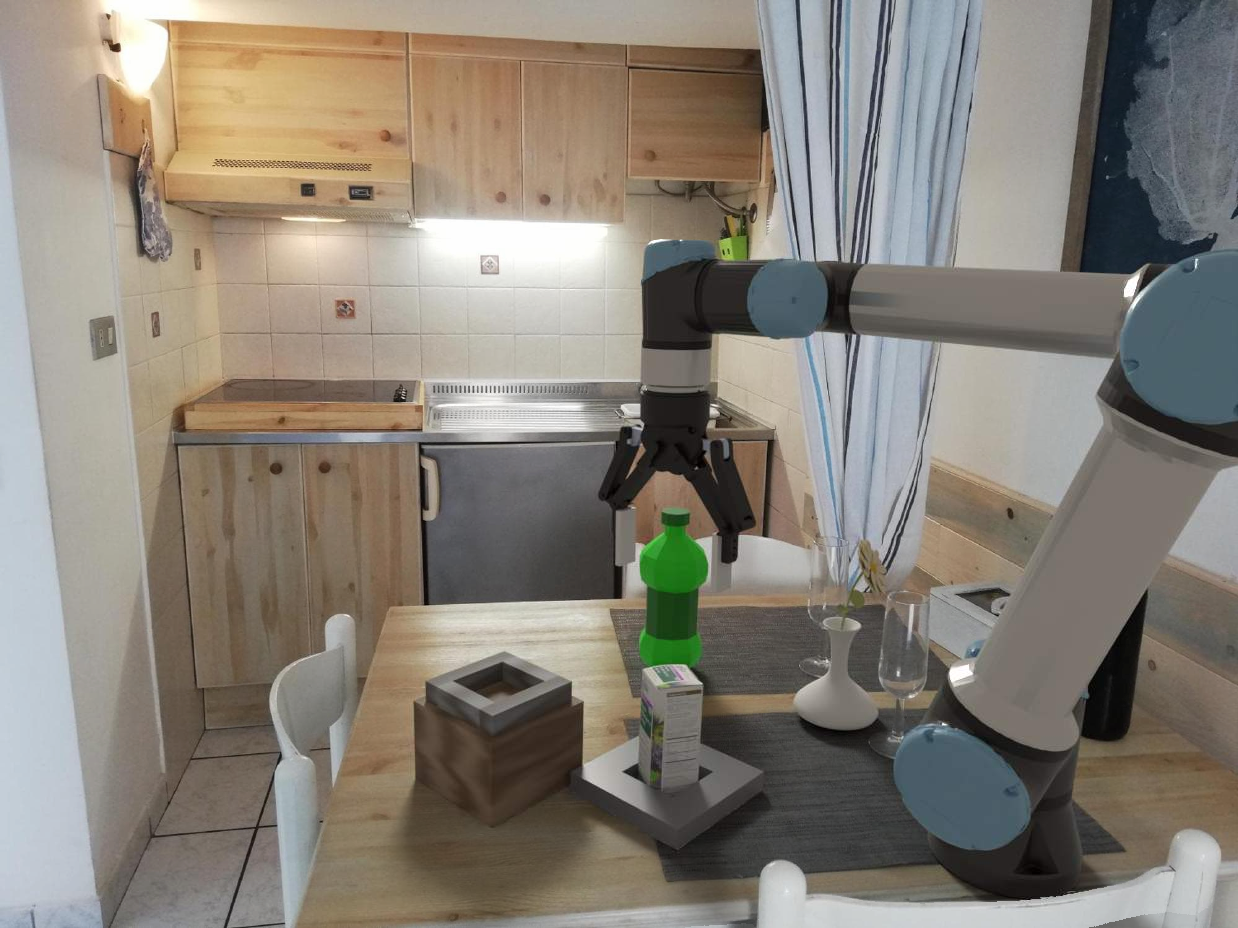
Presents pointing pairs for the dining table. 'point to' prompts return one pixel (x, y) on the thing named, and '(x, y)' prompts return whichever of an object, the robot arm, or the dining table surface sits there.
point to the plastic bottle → (672, 593)
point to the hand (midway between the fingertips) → (671, 576)
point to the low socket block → (656, 812)
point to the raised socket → (497, 736)
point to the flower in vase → (844, 661)
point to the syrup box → (670, 728)
